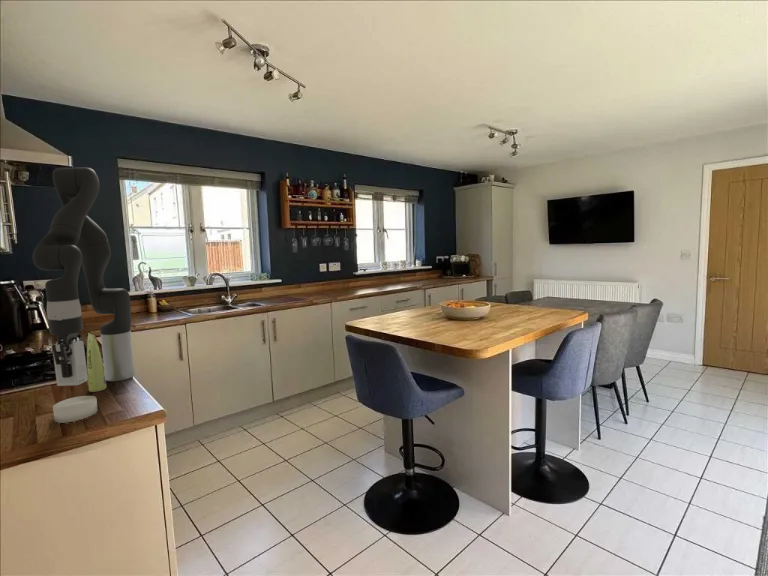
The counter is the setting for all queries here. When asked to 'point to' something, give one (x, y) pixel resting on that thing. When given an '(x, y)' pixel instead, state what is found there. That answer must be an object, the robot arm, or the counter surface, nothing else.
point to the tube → (95, 366)
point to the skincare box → (73, 366)
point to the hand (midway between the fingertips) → (71, 373)
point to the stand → (75, 409)
